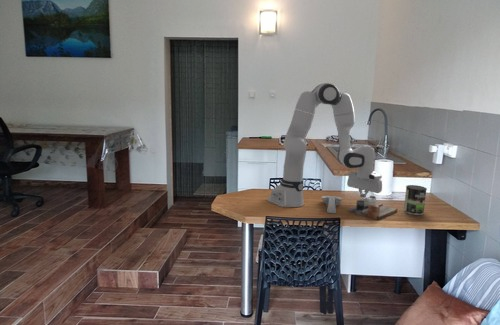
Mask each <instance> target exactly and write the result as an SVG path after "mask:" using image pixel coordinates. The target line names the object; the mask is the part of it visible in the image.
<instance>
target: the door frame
mask: <svg viewBox="0 0 500 325" xmlns="http://www.w3.org/2000/svg"><path fill="white" fill-rule="evenodd" d="M348 212H349V213H353V214H355V215H360V216H363V217H366V218H370V219H373V220H378V221H379V220H381V219H382V220H383V219H384V218H386V217H389V216H391V215H393V214H395V213H397V212H398V208H394V207H391V206H386V205H384V204H383V203H379V204H378V203H373V204H370V205H368V206H365V207H364V208H359V207H356V206H354V207H351V208H349V209H348ZM392 213H393V214H392ZM390 214H391V215H390ZM388 215H389V216H388Z"/></svg>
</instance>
